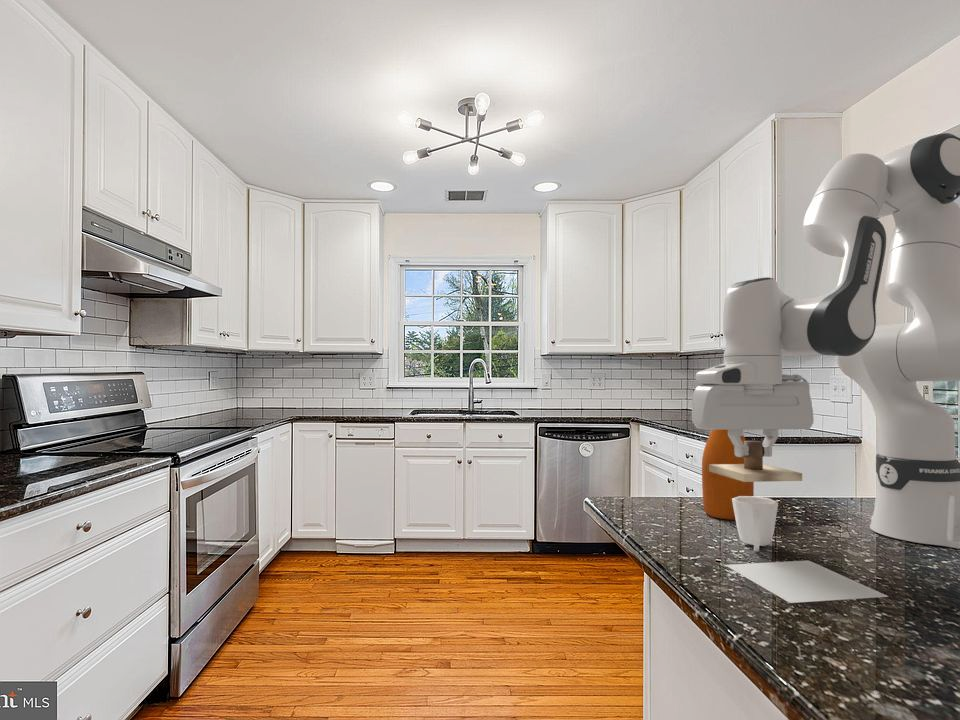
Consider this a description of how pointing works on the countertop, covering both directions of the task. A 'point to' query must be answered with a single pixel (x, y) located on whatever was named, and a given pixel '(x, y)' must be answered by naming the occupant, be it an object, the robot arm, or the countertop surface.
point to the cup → (755, 519)
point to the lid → (754, 468)
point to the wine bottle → (721, 477)
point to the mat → (804, 581)
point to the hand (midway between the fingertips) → (753, 456)
